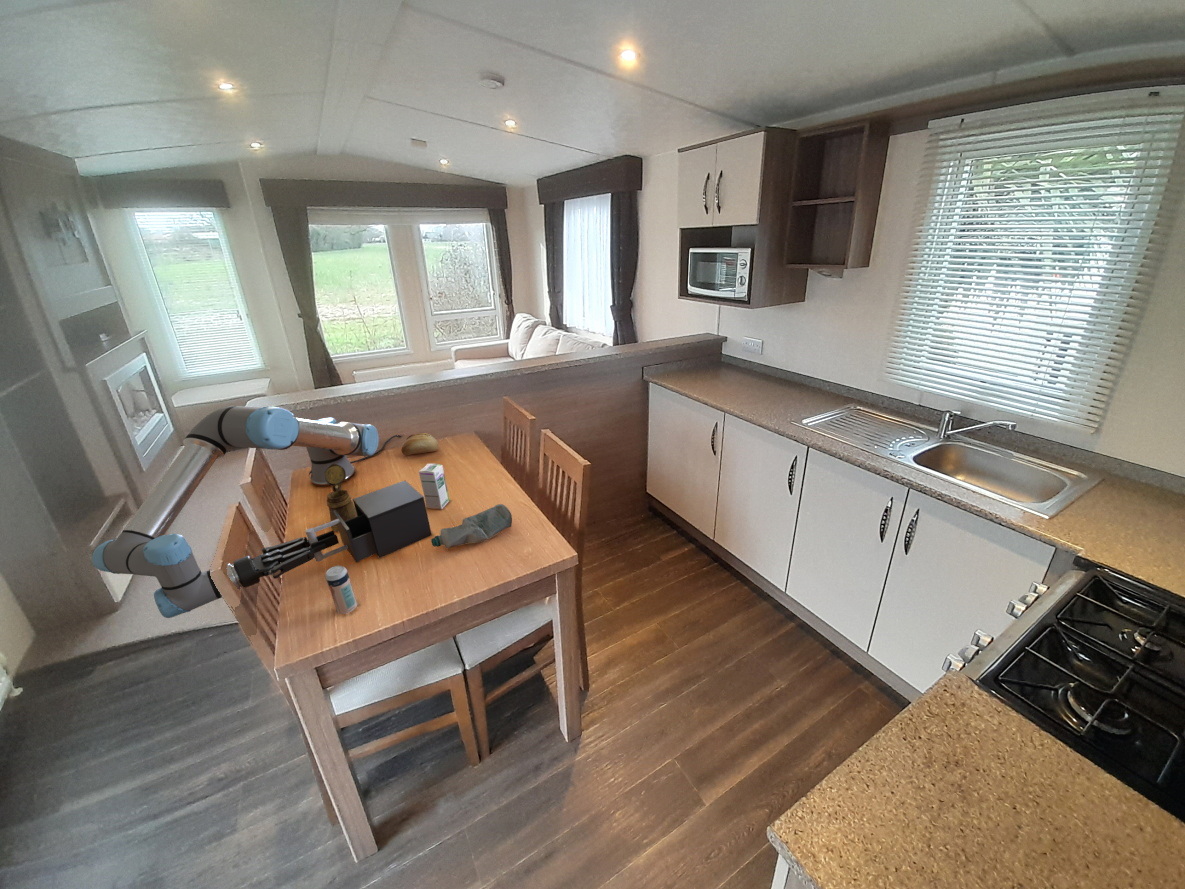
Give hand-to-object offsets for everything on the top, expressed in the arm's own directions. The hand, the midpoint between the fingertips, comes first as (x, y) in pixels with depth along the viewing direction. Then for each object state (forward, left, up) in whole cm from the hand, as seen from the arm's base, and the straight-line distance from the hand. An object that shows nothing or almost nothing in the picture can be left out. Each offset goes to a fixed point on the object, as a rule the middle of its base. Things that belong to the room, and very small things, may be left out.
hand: (335, 536), depth 134 cm
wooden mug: (-19, -12, -8) cm, 24 cm away
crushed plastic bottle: (-16, +34, -8) cm, 38 cm away
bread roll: (-70, -13, -8) cm, 71 cm away
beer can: (+17, +14, -8) cm, 24 cm away
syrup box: (-32, +14, -8) cm, 36 cm away
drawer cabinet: (-13, +10, -8) cm, 18 cm away
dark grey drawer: (-4, +3, -7) cm, 9 cm away
